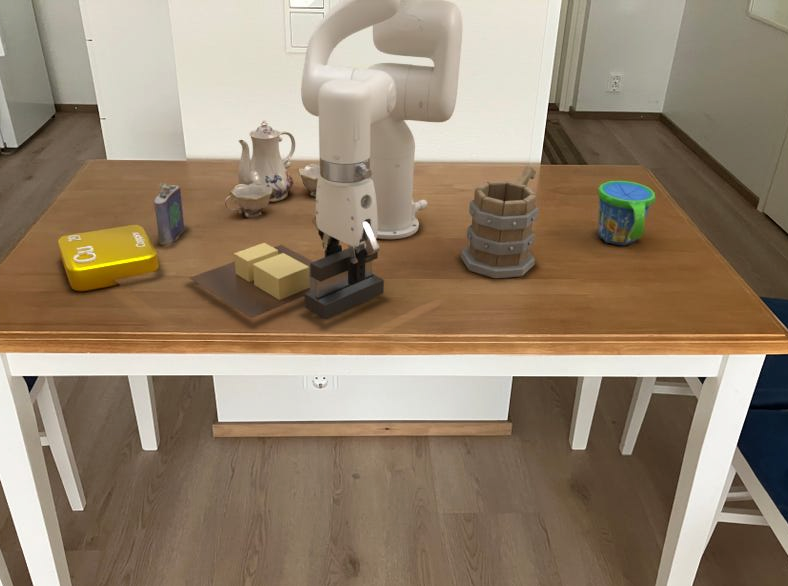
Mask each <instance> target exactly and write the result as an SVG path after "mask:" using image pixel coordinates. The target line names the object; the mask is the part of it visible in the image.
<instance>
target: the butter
mask: <svg viewBox="0 0 788 586" xmlns="http://www.w3.org/2000/svg"><path fill="white" fill-rule="evenodd" d="M253 274H254V285H255V286H257V287H259V288H260V289H262V290H264V291H265V292H267V293H269V294H270V295H272V296H274V297H275V298H277V299H279V300H281V299H283V298H286V297H288V296H291V295H293V294H296V293H298V292H300V291H303V290H305V289H308V288H310V281H309V267H308V266H307V265H305V264H303V263H301V262H299V261H297V260H295V259H294V258H292V257H290V256H288V255H286V254H284V253H282V254H279V255H276V256H274V257H271V258H268V259H265V260H263V261H260V262H257V263H255V264H253Z"/></svg>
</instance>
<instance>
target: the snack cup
mask: <svg viewBox="0 0 788 586" xmlns="http://www.w3.org/2000/svg"><path fill="white" fill-rule="evenodd" d="M597 194H598V195H597V196H598V198H599V199H598V200H599V202H598V221H597V223H598V224H597V235H598V237H599V238H600V239H601V240H603V241H604V242H605V243H609V244H613V245H618V246H626V245H631V244H633V243H635V242H636V241H637V240H638V239H640V238H642V237H643V235H644V233H645V220H646V217H647V215H648V211H649V209H650V207H651V206H652V205H653V204H654V202H655V201H656V193H655V191H654V190H653V189H651V188H650V187H648V186H647V185H644V184H641V183H638V182H634V181H628V180H610V181H609V180H608V181H606V182H603V183H601V184H600V186H598V188H597Z"/></svg>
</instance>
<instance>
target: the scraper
mask: <svg viewBox="0 0 788 586" xmlns="http://www.w3.org/2000/svg"><path fill="white" fill-rule="evenodd" d="M356 250H357V253H358V252H360V247H359V246H358V247H356ZM377 259H379V251H377V252H375V253H373V254H372V255H370V256H369V257H368V259H366V260H365V279H368V278H370V277H372V274H373V261H375V260H377ZM350 261H351V258H350V253H349V247H347V248H346V249H342V251H340V252H338V253H335V254H332V255H330V256H327V257H325V256H324V257H322V258H319V259H317V260H314V261H313V262H312V263H310V269H311V277H313V278H314V279H316V299H321V298H323V297H325V296H328V295H330V294H332V293H335V292H337V291H339V290H342V289H344V288H347V287H349V286H351V285H350V284H348V262H350ZM365 279H364V280H365Z"/></svg>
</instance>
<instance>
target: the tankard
mask: <svg viewBox="0 0 788 586" xmlns="http://www.w3.org/2000/svg"><path fill="white" fill-rule="evenodd" d="M536 174H537V171H536V169H534V167H532V166H528V165H527V166H525V169H524V170H523V172H522V173H521V175H520V176H519V178H518V179H517V180H516V181H515V182H513V181H509V180H508V181H507V180H500V181H487V182H484V183H482V184H481V185H479V186H478V187H476V188H475V189H474V194H473V200H471V201H469V209H468V213H469V215H470V216H471V223H470V225H469V226H468V227H467V230H466V239H467V240H468V242H469V244H468V245H467V246H466V247H465V248H463V249H462V250H461V251H460V258H461V260H462V262H463V263H464V265H465V266H466V268H467V269H468V270H469V272H472V273H475V274H479V275H482V276H485V277H488V278H492V279H508V278H520V277H523V276H524V275H525V274H526V273H527V272H528V271H530V270H531V269H532V268H533V267H534V266H535V262H536V258H535V257H534V255H533V254H532V253H531V252H530V251H529V250H530V248H531V247H532V246H533V245H534V241H535V234H536V233H534V230H532V229H533V223H534V222H536V221H537V220H538V215H539V208H538V207H537V205H536V202H537V194H536V193H535V192H534V191H533V189H531V188H530V187H529V186H528V184H529V181H530V180H533V179H535V176H536Z"/></svg>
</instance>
